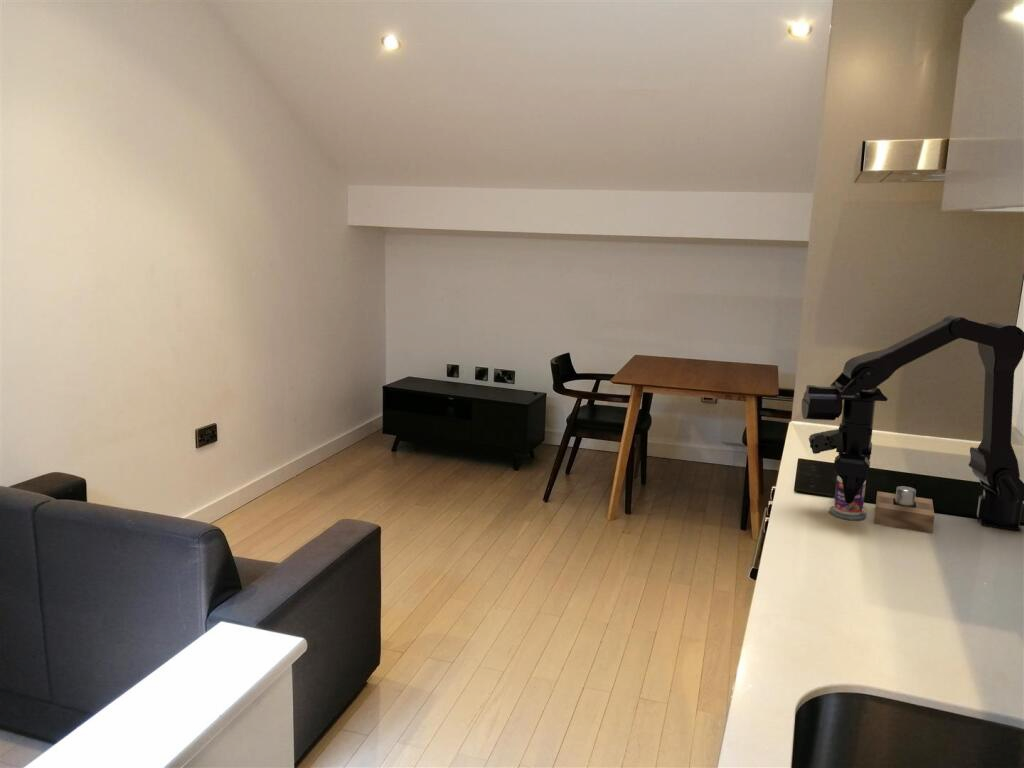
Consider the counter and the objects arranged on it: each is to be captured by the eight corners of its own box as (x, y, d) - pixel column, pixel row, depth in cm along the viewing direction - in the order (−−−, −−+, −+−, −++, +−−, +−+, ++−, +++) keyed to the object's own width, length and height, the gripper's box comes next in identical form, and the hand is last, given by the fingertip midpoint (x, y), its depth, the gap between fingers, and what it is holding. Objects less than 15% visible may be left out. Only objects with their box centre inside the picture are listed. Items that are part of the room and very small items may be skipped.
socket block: (930, 515, 149) (932, 499, 148) (932, 533, 140) (934, 515, 140) (875, 507, 154) (877, 491, 153) (874, 523, 145) (876, 506, 144)
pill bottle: (832, 513, 149) (836, 467, 147) (834, 504, 153) (839, 460, 151) (861, 518, 146) (866, 471, 144) (863, 509, 151) (868, 464, 149)
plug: (912, 516, 148) (915, 487, 146) (912, 521, 145) (916, 493, 144) (893, 513, 149) (896, 485, 148) (893, 518, 146) (896, 490, 145)
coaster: (867, 511, 151) (867, 508, 151) (865, 523, 145) (866, 520, 145) (830, 505, 154) (830, 502, 154) (827, 516, 148) (827, 514, 148)
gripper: (817, 407, 158) (811, 476, 161) (809, 426, 141) (802, 503, 144) (875, 412, 153) (867, 484, 156) (873, 434, 136) (864, 513, 139)
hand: (849, 495), depth 149 cm, fingers open, 9 cm apart
